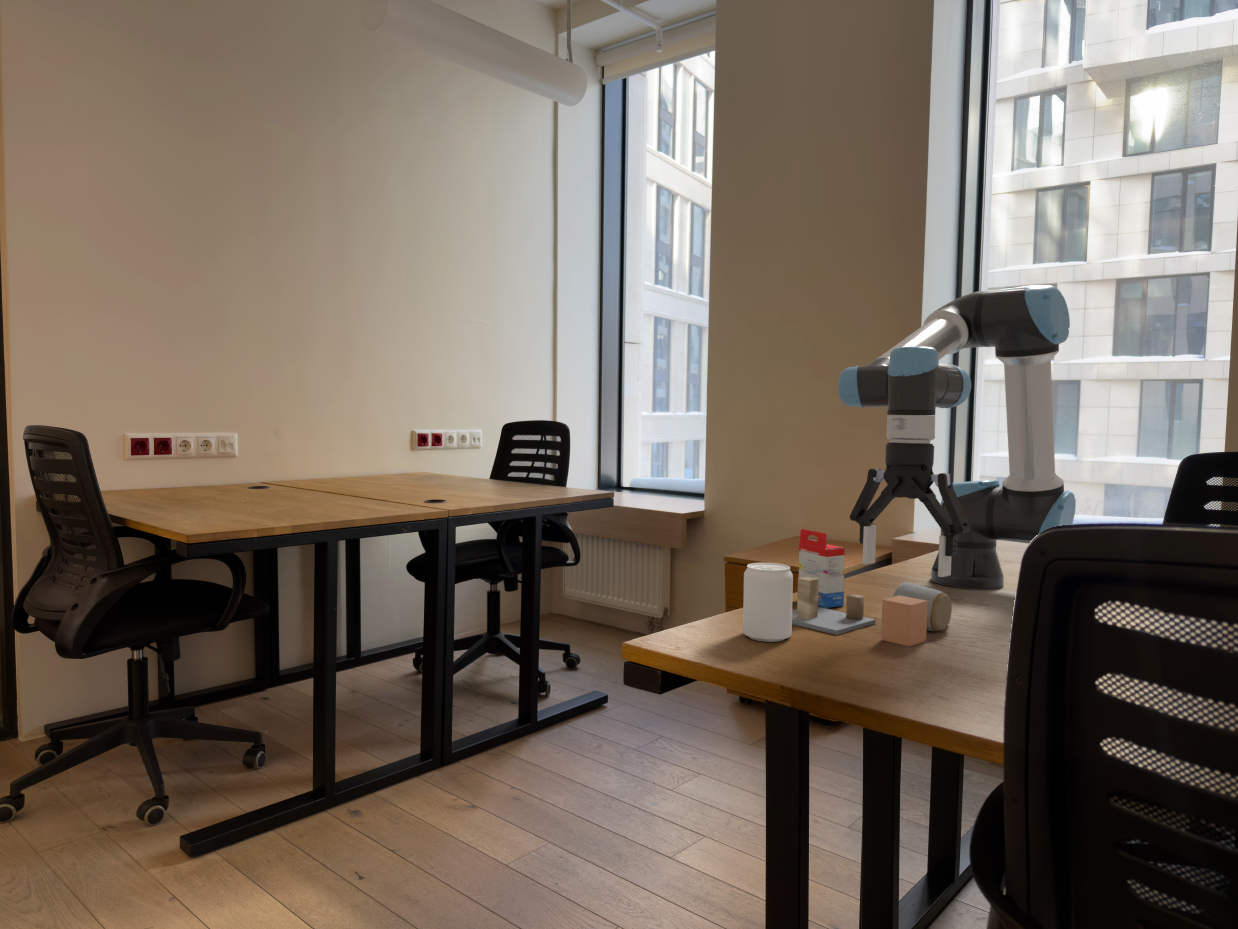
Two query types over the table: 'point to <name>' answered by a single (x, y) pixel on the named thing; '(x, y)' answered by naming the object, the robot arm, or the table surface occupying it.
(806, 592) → the maple post
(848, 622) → the slate plate
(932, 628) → the ceramic mug
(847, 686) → the table surface
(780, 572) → the beverage can
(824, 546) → the ink box
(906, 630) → the peach foam cube
